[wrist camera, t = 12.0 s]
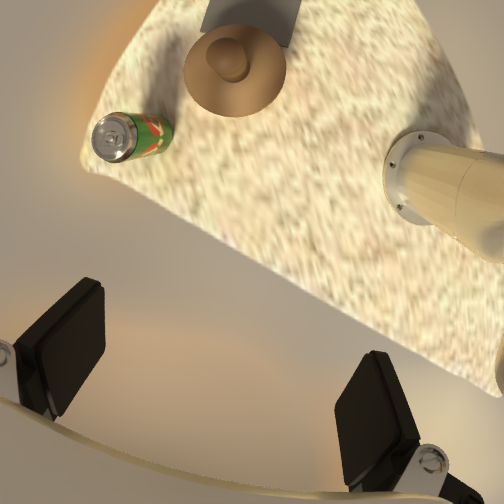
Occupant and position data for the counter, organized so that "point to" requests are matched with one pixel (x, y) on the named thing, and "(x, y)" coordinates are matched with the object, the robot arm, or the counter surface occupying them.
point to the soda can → (130, 136)
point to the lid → (235, 70)
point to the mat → (254, 16)
